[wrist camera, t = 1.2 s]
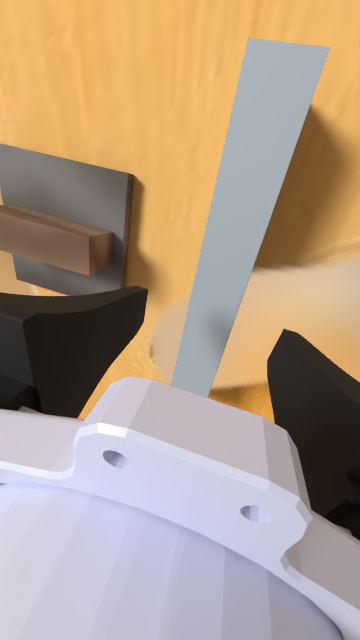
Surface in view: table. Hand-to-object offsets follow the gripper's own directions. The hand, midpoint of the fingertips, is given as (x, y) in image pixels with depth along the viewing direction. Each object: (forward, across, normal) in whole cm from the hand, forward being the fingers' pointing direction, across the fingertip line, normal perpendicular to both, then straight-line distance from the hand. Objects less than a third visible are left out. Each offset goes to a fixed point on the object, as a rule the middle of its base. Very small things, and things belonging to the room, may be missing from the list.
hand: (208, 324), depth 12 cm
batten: (+10, 0, 0) cm, 10 cm away
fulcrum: (+9, +15, 0) cm, 18 cm away
